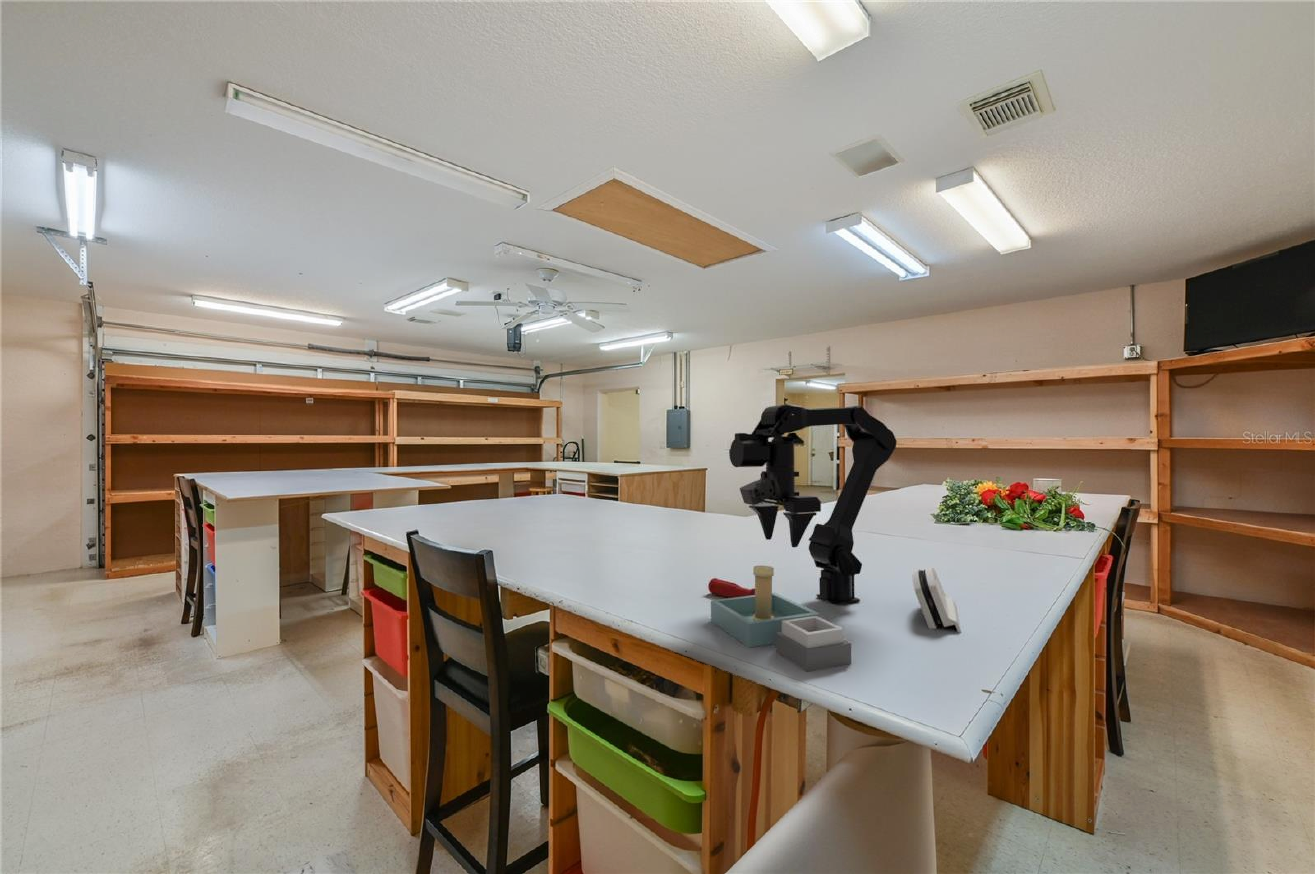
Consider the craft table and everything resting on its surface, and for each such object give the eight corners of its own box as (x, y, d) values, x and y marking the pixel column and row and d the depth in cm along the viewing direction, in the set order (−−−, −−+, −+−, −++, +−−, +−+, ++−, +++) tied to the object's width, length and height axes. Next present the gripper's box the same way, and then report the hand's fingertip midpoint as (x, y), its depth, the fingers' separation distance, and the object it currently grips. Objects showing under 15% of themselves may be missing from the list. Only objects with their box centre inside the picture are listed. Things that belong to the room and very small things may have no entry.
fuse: (771, 620, 95) (771, 565, 95) (775, 627, 92) (775, 570, 92) (751, 619, 95) (751, 565, 95) (755, 627, 92) (755, 570, 92)
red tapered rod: (804, 622, 97) (804, 603, 97) (706, 594, 115) (706, 578, 116) (815, 618, 99) (814, 600, 99) (717, 591, 118) (717, 576, 118)
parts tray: (774, 612, 103) (774, 592, 103) (820, 635, 89) (820, 613, 90) (711, 620, 98) (710, 600, 98) (749, 647, 85) (749, 624, 85)
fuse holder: (817, 644, 86) (816, 614, 86) (851, 663, 78) (850, 629, 78) (775, 651, 83) (775, 620, 83) (807, 671, 75) (806, 637, 75)
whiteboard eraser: (961, 633, 90) (938, 576, 92) (932, 638, 92) (910, 583, 94) (956, 606, 105) (936, 558, 107) (931, 611, 107) (912, 564, 109)
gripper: (723, 465, 112) (724, 538, 112) (771, 468, 94) (772, 555, 94) (767, 465, 116) (768, 535, 116) (822, 467, 98) (823, 550, 98)
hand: (781, 543), depth 106 cm, fingers open, 9 cm apart
